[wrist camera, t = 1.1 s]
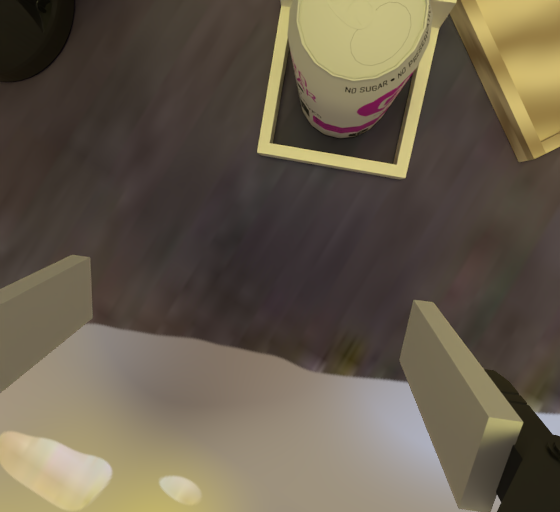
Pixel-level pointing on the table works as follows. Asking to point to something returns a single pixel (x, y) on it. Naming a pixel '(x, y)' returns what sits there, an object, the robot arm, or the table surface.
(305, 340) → the table surface
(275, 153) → the dock
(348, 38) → the supplement can
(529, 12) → the tray
